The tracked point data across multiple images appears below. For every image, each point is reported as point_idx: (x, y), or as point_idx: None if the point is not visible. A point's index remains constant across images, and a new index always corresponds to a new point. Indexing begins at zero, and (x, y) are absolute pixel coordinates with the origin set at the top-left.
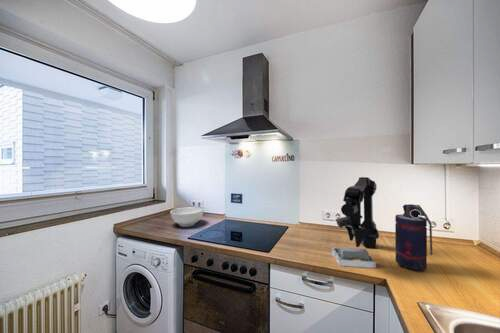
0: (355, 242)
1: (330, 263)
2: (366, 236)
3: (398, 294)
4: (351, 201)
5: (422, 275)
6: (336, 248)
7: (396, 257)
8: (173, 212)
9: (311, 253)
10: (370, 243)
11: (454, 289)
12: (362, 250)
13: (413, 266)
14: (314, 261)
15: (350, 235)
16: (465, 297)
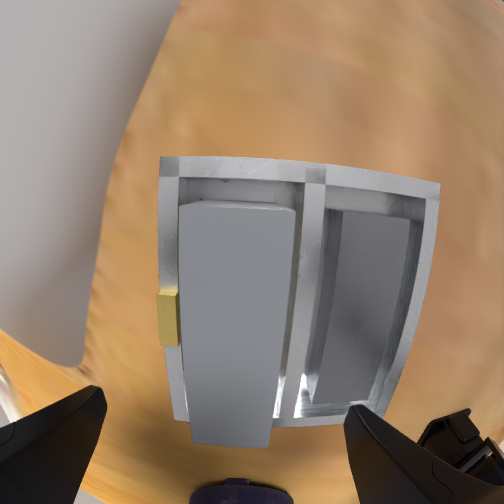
0: (63, 414)
1: (209, 100)
2: (465, 458)
3: (7, 341)
4: None
5: (170, 488)
6: (423, 224)
7: (251, 501)
8: None
9: (369, 25)
10: (434, 451)
11: (113, 488)
12: (228, 422)
13: (191, 501)
14: (233, 6)
15: (379, 465)
16: (84, 477)
